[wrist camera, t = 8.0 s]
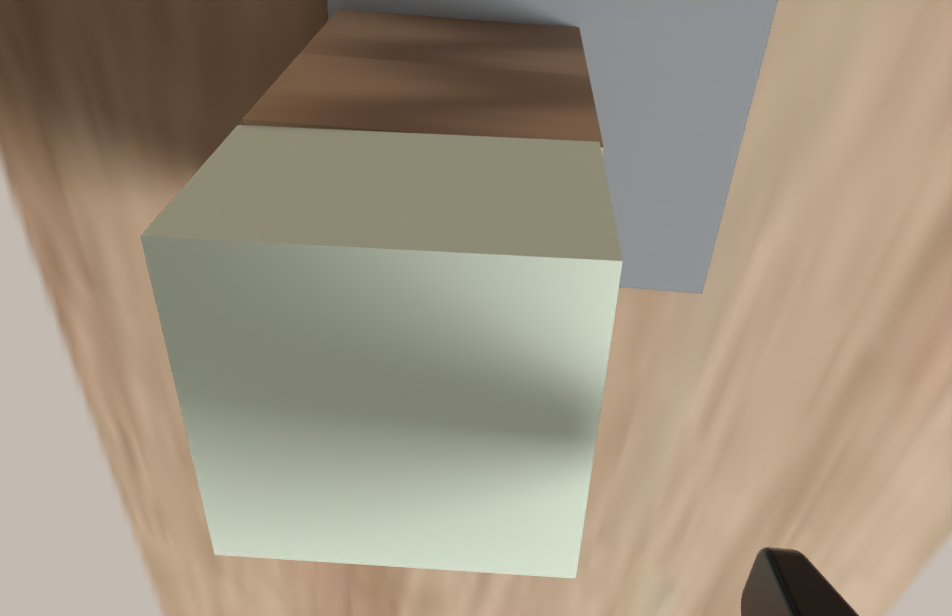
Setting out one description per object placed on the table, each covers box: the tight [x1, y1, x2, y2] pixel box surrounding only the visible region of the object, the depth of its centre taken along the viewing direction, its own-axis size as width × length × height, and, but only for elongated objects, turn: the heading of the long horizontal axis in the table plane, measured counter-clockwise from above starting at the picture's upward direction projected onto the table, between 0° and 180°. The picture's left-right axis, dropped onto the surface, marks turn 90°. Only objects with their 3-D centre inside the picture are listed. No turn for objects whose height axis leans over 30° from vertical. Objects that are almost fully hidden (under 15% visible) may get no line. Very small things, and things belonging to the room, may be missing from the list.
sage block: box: [141, 125, 623, 578], centre depth 12 cm, size 6×6×4 cm
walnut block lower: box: [300, 9, 589, 76], centre depth 18 cm, size 6×6×4 cm
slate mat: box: [327, 0, 778, 294], centre depth 18 cm, size 10×12×1 cm
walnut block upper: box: [242, 53, 604, 156], centre depth 15 cm, size 6×6×4 cm
